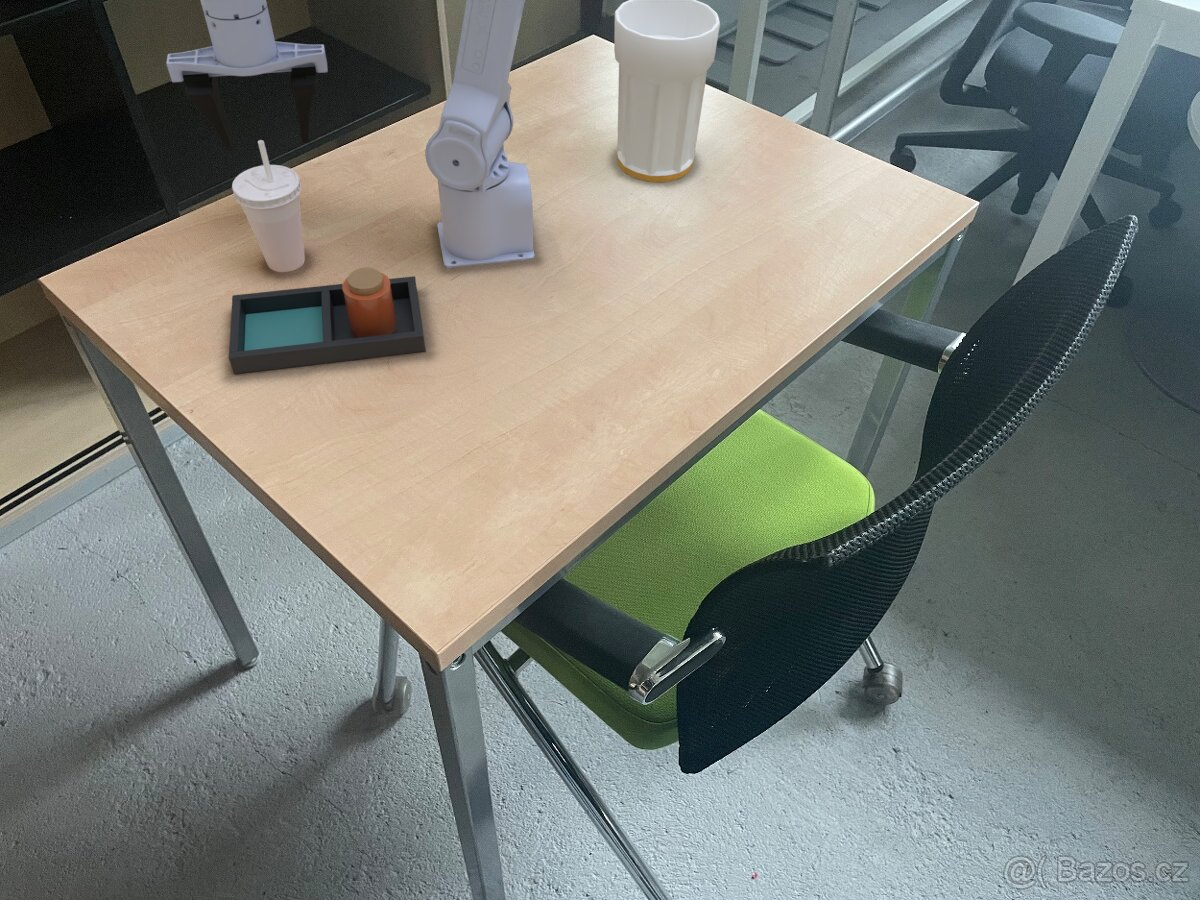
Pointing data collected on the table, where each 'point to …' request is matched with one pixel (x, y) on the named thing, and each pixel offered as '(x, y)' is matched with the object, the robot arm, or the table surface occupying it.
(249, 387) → the table surface
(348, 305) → the spice pot
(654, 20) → the cup
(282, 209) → the smoothie
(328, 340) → the holder
